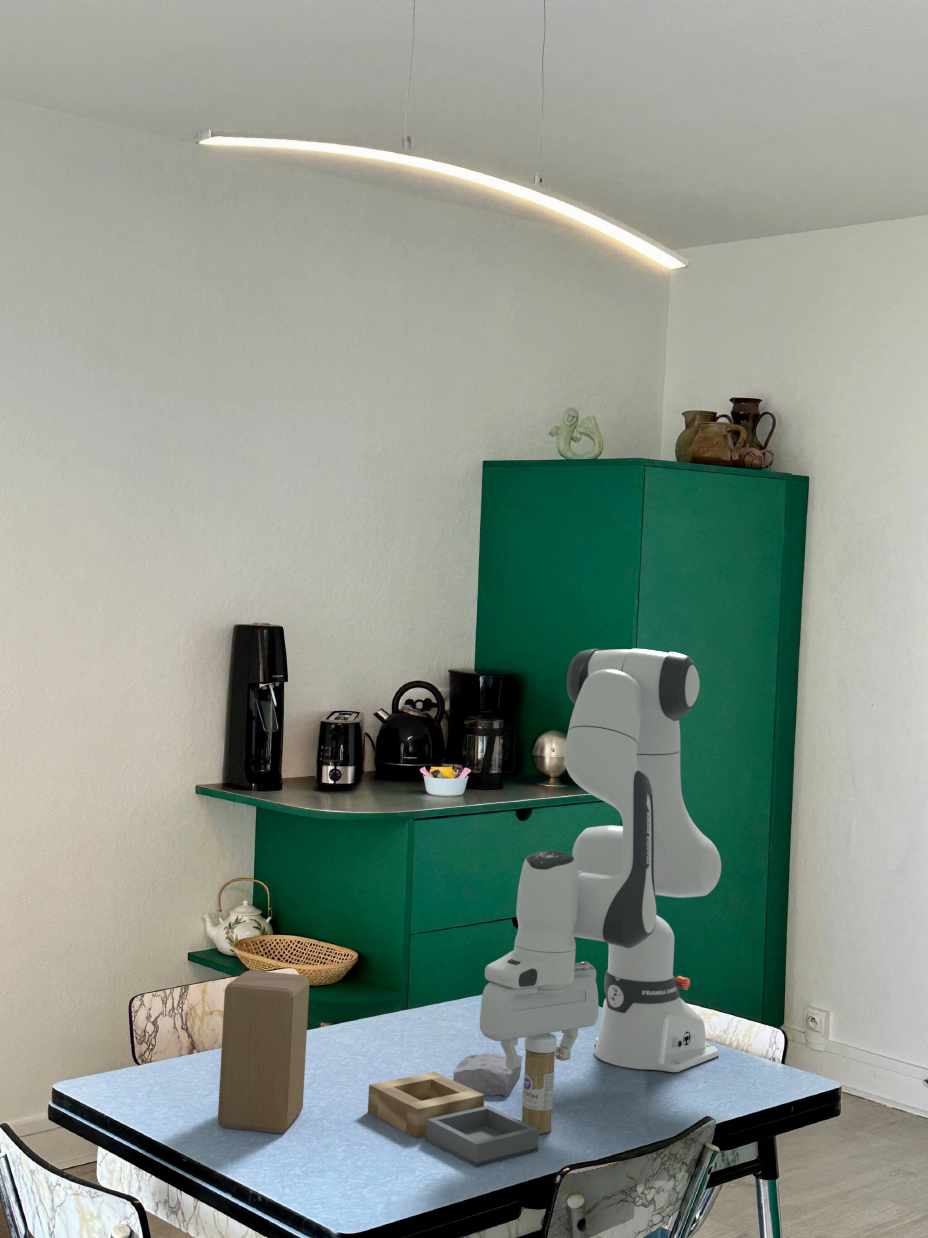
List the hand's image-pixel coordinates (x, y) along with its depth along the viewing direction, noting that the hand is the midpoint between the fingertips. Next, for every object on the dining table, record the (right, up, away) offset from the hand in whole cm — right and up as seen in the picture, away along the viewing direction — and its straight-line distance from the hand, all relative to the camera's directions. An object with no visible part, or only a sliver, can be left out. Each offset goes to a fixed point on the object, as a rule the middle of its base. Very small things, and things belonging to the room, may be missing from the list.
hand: (538, 1064), depth 193 cm
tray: (-8, -9, -7) cm, 14 cm away
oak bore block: (-16, -9, +3) cm, 19 cm away
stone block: (-7, -10, +20) cm, 24 cm away
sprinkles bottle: (0, -10, 0) cm, 10 cm away
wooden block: (-40, -8, -2) cm, 40 cm away
